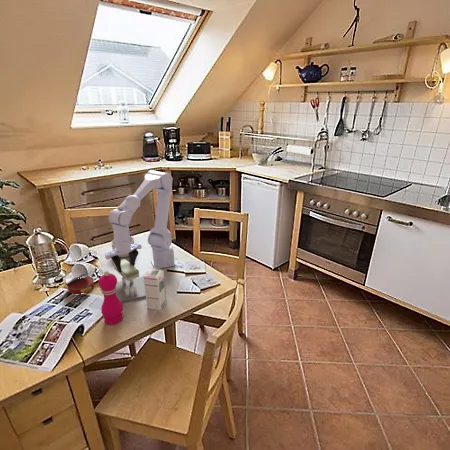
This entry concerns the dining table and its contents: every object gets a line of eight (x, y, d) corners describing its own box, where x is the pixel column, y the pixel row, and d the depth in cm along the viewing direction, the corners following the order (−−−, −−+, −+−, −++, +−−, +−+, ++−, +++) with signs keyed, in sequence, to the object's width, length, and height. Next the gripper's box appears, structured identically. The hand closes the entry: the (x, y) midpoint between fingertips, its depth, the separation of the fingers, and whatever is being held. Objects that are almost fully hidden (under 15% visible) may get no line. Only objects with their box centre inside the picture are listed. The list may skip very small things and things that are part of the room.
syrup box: (161, 310, 117) (158, 277, 111) (146, 308, 118) (142, 275, 112) (166, 301, 122) (164, 269, 116) (152, 299, 123) (149, 267, 117)
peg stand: (148, 277, 137) (147, 269, 136) (155, 295, 126) (155, 286, 124) (105, 286, 130) (103, 278, 129) (108, 306, 119) (107, 297, 117)
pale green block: (139, 276, 126) (138, 270, 125) (127, 281, 123) (126, 274, 121) (125, 264, 134) (124, 258, 133) (114, 268, 131) (113, 262, 129)
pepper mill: (106, 312, 115) (98, 266, 107) (126, 312, 116) (119, 265, 108) (100, 326, 109) (91, 277, 101) (121, 325, 109) (114, 276, 101)
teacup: (132, 260, 151) (130, 245, 148) (109, 259, 151) (107, 244, 148) (139, 246, 164) (138, 232, 161) (119, 246, 164) (117, 232, 161)
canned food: (74, 304, 127) (56, 289, 121) (78, 288, 135) (62, 273, 130) (98, 291, 126) (82, 276, 121) (101, 276, 135) (86, 260, 129)
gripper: (134, 230, 129) (137, 259, 135) (99, 240, 120) (104, 271, 126) (142, 236, 125) (145, 265, 130) (107, 247, 116) (112, 278, 121)
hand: (126, 268), depth 128 cm, fingers closed on pale green block, 5 cm apart
